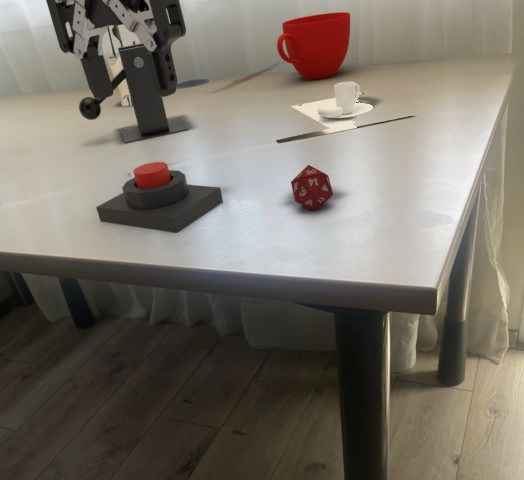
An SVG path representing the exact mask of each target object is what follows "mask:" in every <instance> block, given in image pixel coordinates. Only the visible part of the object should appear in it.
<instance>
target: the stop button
mask: <svg viewBox="0 0 524 480" xmlns="http://www.w3.org/2000/svg"><path fill="white" fill-rule="evenodd" d="M169 170H170V169H169V165H168V163H166V162H164V161H154V162H148V163H145V164H141V165H139V166H137V167H135V168H134V169H133V176H134V177H135V180H136V184H137V187H138V188H152V187H157V186H161V185H164V184H166V183H168V182H170V181H171V177H170V173H169Z"/></svg>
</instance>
